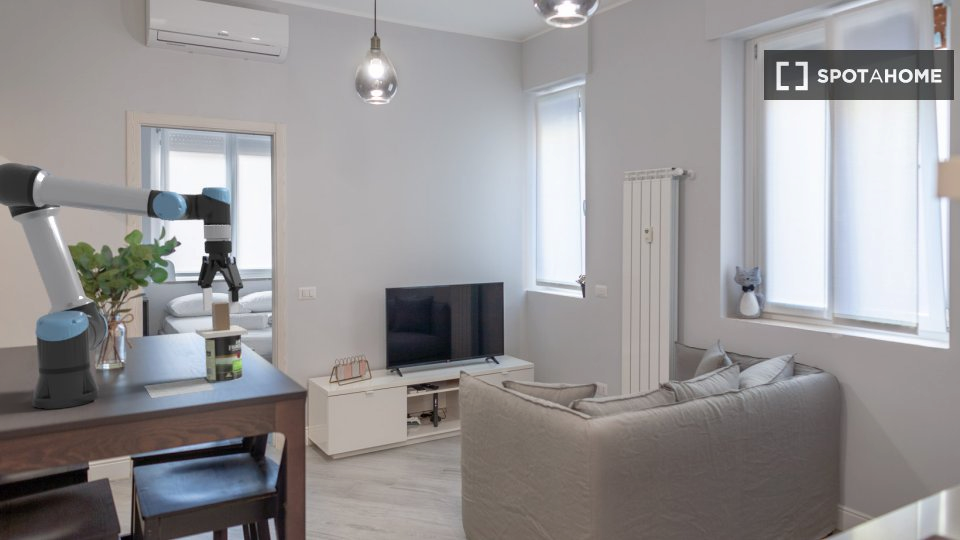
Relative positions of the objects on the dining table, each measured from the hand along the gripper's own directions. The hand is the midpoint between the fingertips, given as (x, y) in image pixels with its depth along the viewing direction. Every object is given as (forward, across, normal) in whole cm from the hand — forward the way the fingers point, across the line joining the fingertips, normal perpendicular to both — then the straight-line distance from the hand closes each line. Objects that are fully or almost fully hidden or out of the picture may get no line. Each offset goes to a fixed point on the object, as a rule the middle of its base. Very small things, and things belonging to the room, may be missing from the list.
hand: (220, 311), depth 198 cm
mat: (+21, 0, +14) cm, 25 cm away
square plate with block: (+7, 0, 0) cm, 7 cm away
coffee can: (+21, 0, 0) cm, 21 cm away
